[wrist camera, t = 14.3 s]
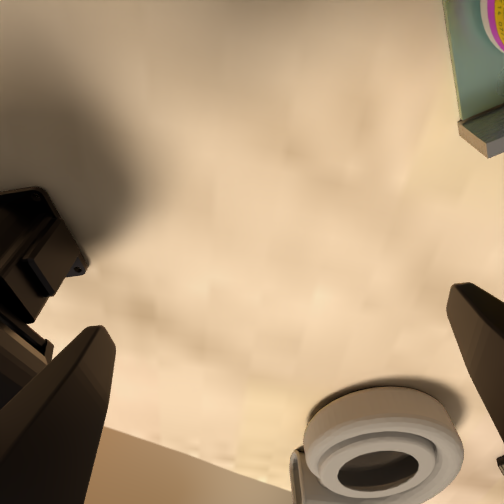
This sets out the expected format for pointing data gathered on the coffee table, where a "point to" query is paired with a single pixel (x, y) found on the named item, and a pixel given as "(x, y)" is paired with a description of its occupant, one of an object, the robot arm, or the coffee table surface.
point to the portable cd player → (501, 464)
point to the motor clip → (476, 77)
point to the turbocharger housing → (377, 450)
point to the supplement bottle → (493, 21)
